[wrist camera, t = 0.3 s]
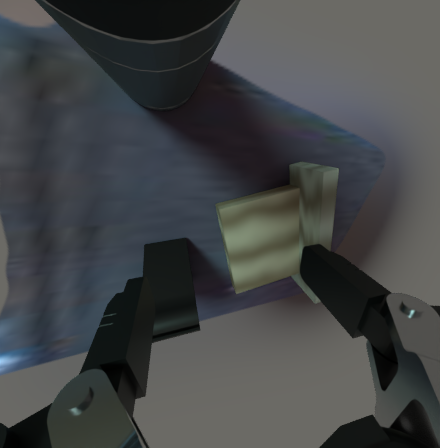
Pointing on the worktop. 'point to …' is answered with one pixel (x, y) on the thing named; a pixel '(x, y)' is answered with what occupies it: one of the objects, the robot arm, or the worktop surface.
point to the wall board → (279, 227)
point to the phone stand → (171, 288)
